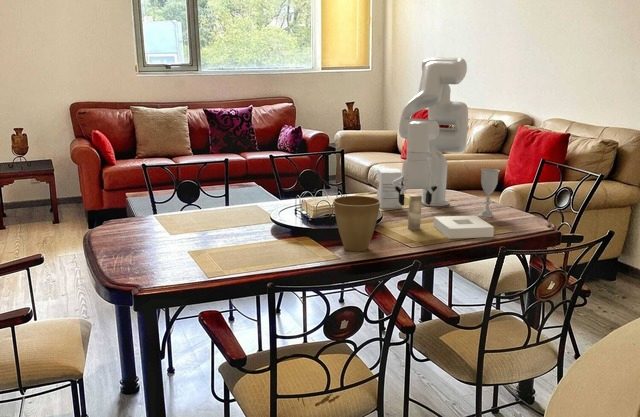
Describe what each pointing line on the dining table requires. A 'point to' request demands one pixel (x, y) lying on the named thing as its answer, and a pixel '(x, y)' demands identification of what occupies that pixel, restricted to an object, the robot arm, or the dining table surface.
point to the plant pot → (356, 220)
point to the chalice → (488, 187)
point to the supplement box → (388, 188)
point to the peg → (414, 212)
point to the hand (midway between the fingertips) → (414, 204)
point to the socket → (463, 227)
